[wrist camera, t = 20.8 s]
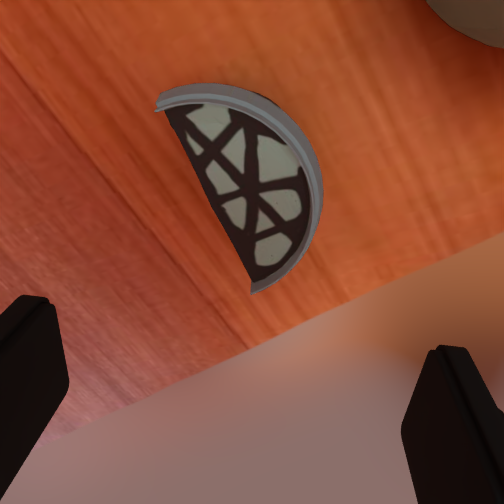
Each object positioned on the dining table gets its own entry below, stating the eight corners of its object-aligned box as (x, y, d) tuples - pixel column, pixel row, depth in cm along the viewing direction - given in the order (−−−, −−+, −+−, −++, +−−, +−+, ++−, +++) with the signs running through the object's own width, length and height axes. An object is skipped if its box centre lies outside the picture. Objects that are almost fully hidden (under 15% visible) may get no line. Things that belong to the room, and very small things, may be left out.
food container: (339, 200, 32) (356, 270, 23) (264, 227, 33) (254, 302, 25) (278, 32, 26) (270, 40, 18) (193, 74, 28) (148, 100, 19)
